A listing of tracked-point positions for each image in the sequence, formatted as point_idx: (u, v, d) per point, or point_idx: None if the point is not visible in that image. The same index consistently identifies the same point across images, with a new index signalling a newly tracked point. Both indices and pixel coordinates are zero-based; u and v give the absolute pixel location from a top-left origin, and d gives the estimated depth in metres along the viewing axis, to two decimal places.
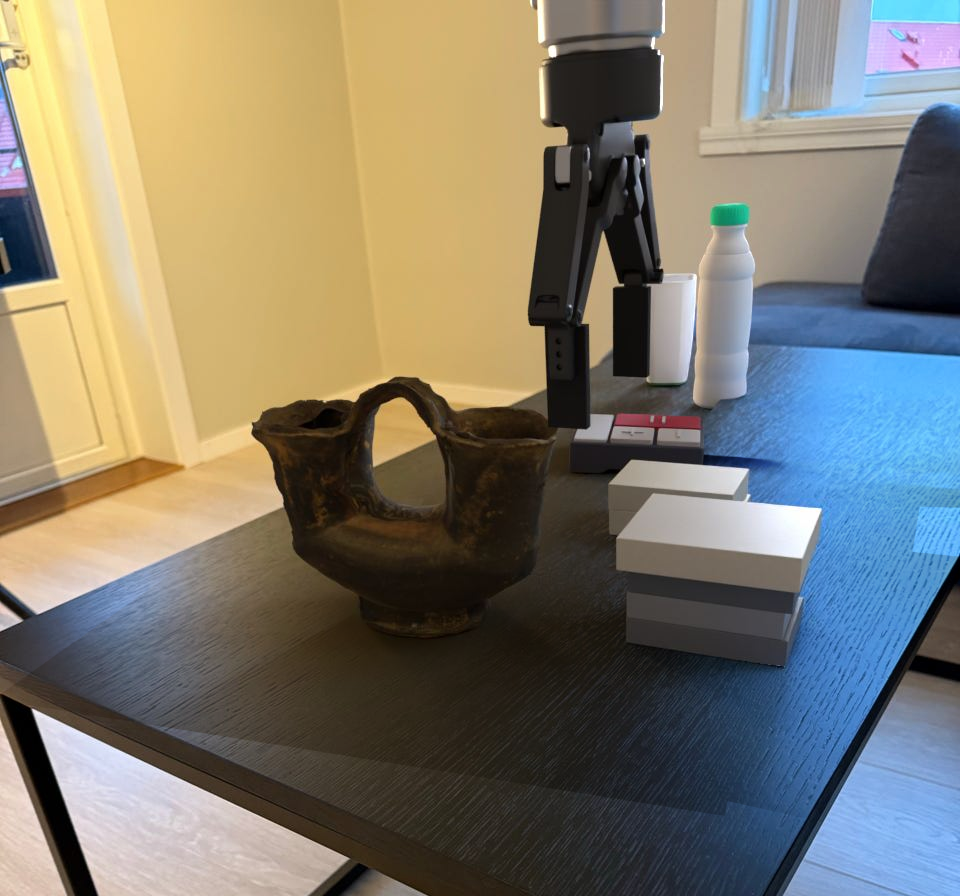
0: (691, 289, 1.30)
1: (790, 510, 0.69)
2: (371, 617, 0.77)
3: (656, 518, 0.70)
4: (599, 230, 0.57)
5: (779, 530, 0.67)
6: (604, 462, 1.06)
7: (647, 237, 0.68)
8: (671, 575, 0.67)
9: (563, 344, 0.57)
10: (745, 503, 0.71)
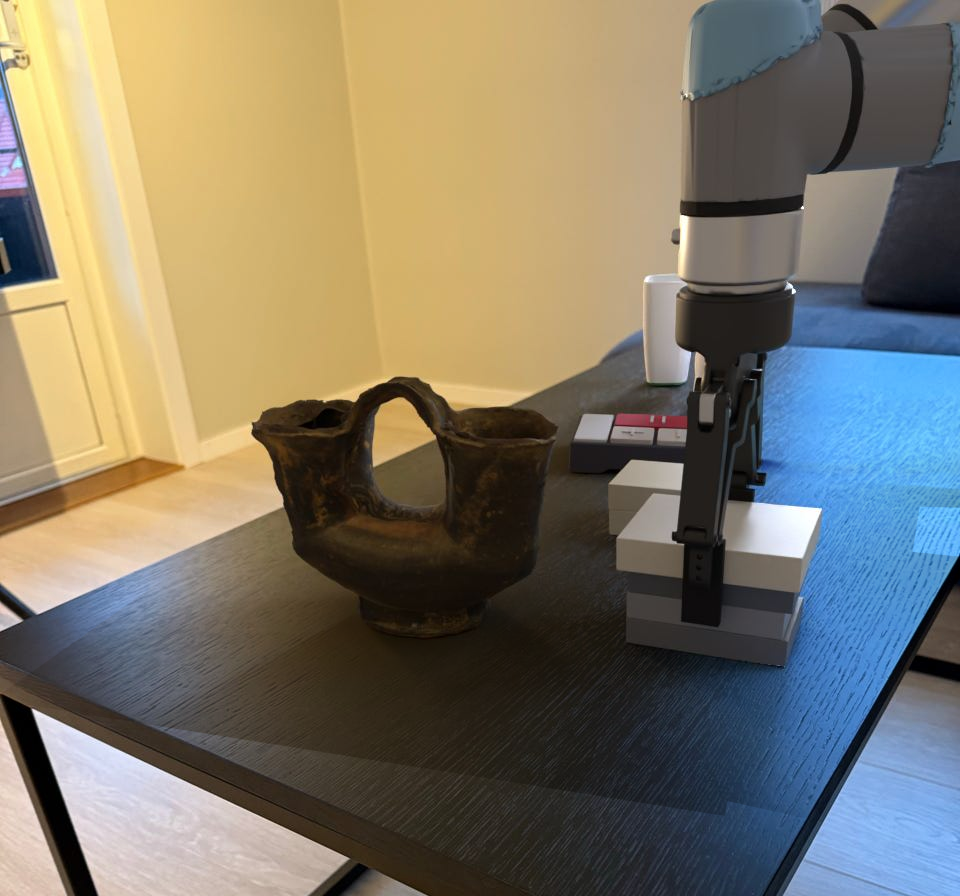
0: None
1: (791, 510, 0.69)
2: (371, 617, 0.77)
3: (656, 518, 0.70)
4: (734, 450, 0.62)
5: (779, 530, 0.67)
6: (604, 462, 1.06)
7: None
8: (671, 575, 0.67)
9: (704, 560, 0.63)
10: (745, 503, 0.71)
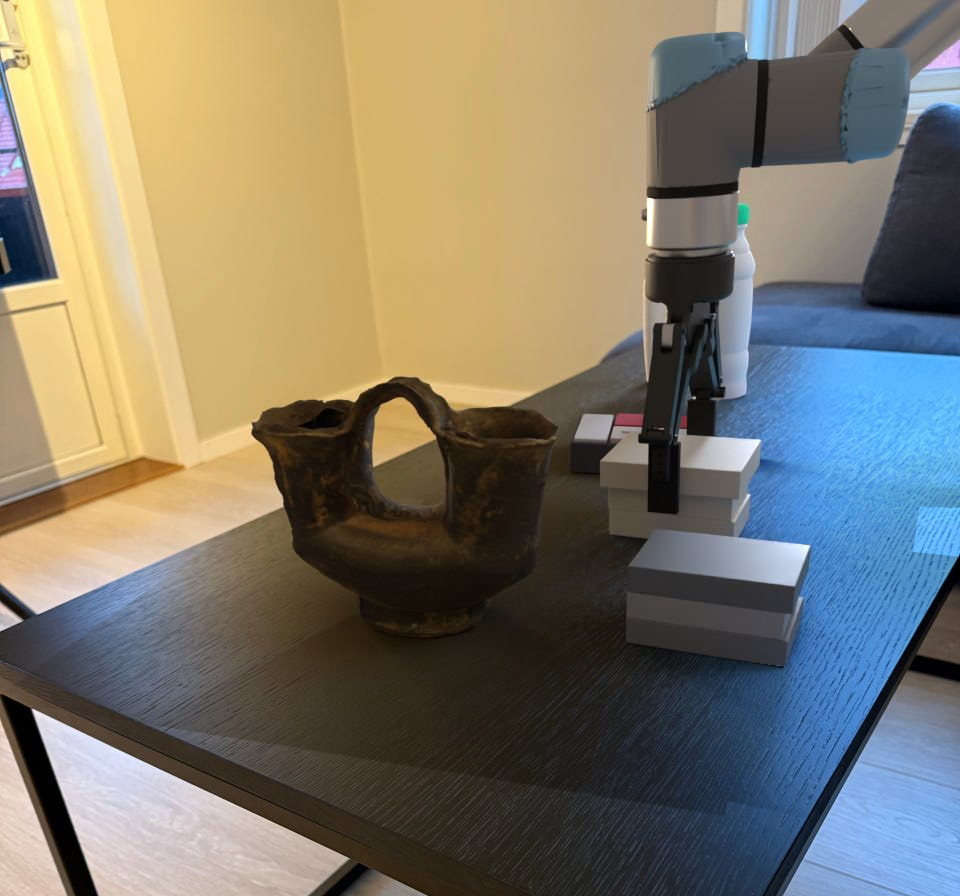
0: None
1: (736, 441, 0.89)
2: (371, 617, 0.77)
3: (631, 448, 0.89)
4: (689, 375, 0.81)
5: (726, 454, 0.86)
6: None
7: (714, 364, 0.91)
8: (642, 489, 0.86)
9: (663, 457, 0.80)
10: (702, 437, 0.91)
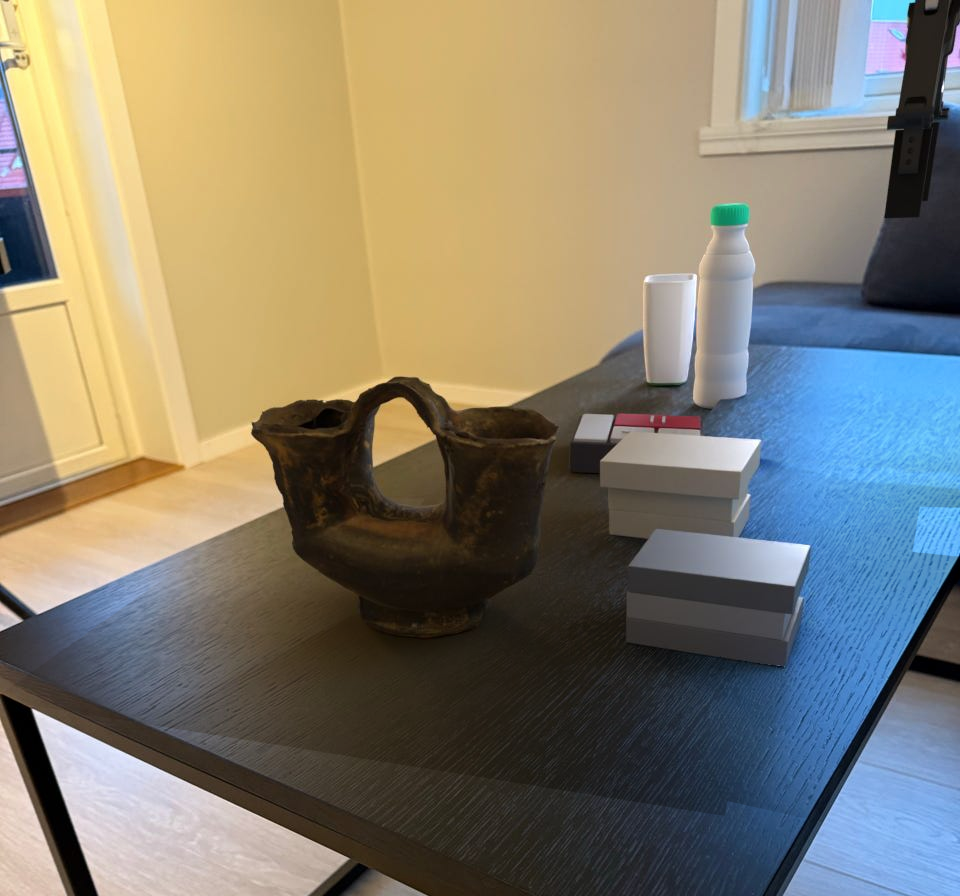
0: (691, 289, 1.30)
1: (736, 441, 0.89)
2: (371, 617, 0.77)
3: (631, 448, 0.89)
4: (942, 54, 0.74)
5: (726, 454, 0.86)
6: None
7: None
8: (642, 489, 0.86)
9: (915, 141, 0.74)
10: (702, 437, 0.91)
